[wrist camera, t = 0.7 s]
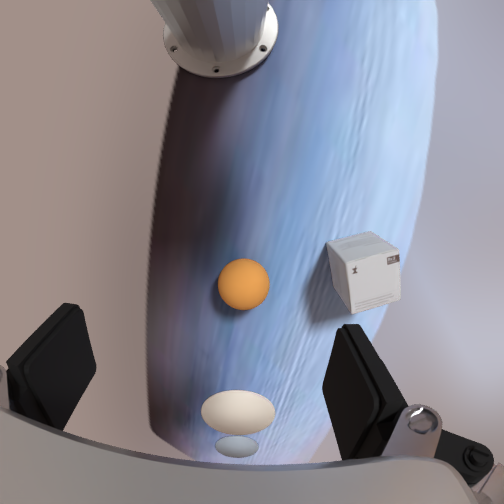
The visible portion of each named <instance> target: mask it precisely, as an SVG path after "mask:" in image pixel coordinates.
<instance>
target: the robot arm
mask: <svg viewBox="0 0 504 504" xmlns="http://www.w3.org/2000/svg"><path fill="white" fill-rule="evenodd" d="M151 2H152V3H153V5H154V6H155V8H156V9H157V11H158V12H159V14H160V15H161V17H162V18H163V20H164V21H165V26H164V33H163V39H164V44H165V48H166V49H167V51H168V54H169V55H170V56H171V58H172V59H173V60H174V61H175V62H176V63H177V64H178V65H179V66H180V67H181V68H183V69H184V70H186V71H188V72H190V73H192V74H195V75H198V76H202V77H207V78H224V77H232V76H235V75H239V74H242V73H244V72H247V71H249V70H251V69H253V68H254V67H256V66H257V65H259V64H260V63H261V62H262V61H263V60H264V59H265V58H266V57H267V56H268V55H269V54H270V52H271V51H272V49H273V47H274V45H275V43H276V40H277V36H278V20H277V16H276V14H275V12H274V10H273V8H272V7H271V5H270V4H269V3H268V0H151ZM261 49H264V50H265V52H261V51H260V50H261ZM174 50H177V51H176V52H174ZM215 70H219V72H218V73H215ZM6 363H7V365H8V370H7V371H6V370H5V369H4V367H2V366H1V365H0V504H504V466H503V465H502V464H500V463H498V464H497V465H494V458H493V454H492V453H491V451H490V450H489V449H488V448H487V447H486V446H484V445H482V444H480V443H477V442H475V441H472V440H469V439H466V438H464V437H461V436H458V435H456V434H452V433H450V432H448V431H445V430H443V429H442V419H441V417H440V415H439V414H438V413H437V412H436V411H435V410H434V409H432V408H430V407H428V406H425V405H421V404H414V405H411V406H408V405H407V403H406V401H405V399H404V397H403V396H402V394H401V392H400V390H399V389H398V387H397V385H396V383H395V382H394V380H393V378H392V376H391V375H390V373H389V371H388V370H387V368H386V366H385V364H384V363H383V361H382V360H381V359H380V358H379V356H378V354H377V352H376V351H375V349H374V347H373V346H372V344H371V342H370V341H369V339H368V337H367V336H366V334H365V333H364V331H363V329H362V328H361V326H360V325H359V324H344V325H343V326H342V328H338V329H337V332H336V336H335V340H334V344H333V348H332V352H331V356H330V359H329V363H328V367H327V370H326V374H325V377H324V381H323V386H322V390H323V395H324V398H325V402H326V405H327V409H328V412H329V415H330V419H331V422H332V426H333V429H334V433H335V437H336V440H337V444H338V447H339V451H340V455H341V458H342V461H334V462H323V463H308V464H288V465H242V464H223V463H210V462H199V461H190V460H182V459H175V458H168V457H162V456H157V455H151V454H145V453H141V452H136V451H131V450H127V449H122V448H118V447H114V446H110V445H107V444H103V443H99V442H96V441H92V440H89V439H85V438H82V437H79V436H76V435H73V434H70V433H67V432H64V431H63V429H64V427H65V425H66V424H67V422H68V420H69V418H70V416H71V415H72V413H73V411H74V409H75V407H76V406H77V404H78V402H79V400H80V398H81V397H82V395H83V393H84V391H85V390H86V388H87V386H88V385H89V383H90V381H91V379H92V378H93V376H94V374H95V372H96V362H95V359H94V356H93V351H92V347H91V344H90V340H89V335H88V331H87V327H86V323H85V317H84V313H83V311H82V309H80V307H79V306H78V305H76V304H70V303H63V304H62V305H61V306H60V307H59V308H58V309H57V310H56V311H55V312H54V313H53V314H52V315H51V316H50V317H49V318H48V319H47V320H46V321H45V322H44V323H43V324H42V325H41V326H40V327H39V328H38V329H37V330H36V331H35V332H34V333H33V334H32V335H31V336H30V337H29V338H28V339H27V340H26V341H25V342H24V343H23V344H22V345H21V347H19V348H18V349H17V350H16V352H15V353H14V354H13V355H12V356H11V357H10V358H9V359H8V360H7V361H6Z"/></svg>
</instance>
